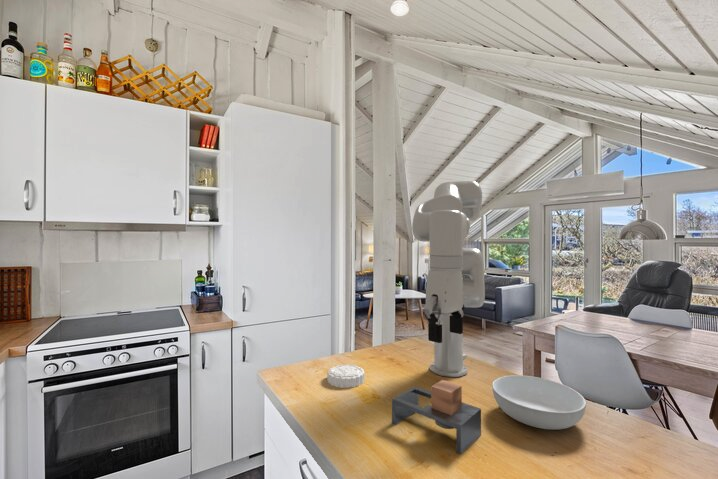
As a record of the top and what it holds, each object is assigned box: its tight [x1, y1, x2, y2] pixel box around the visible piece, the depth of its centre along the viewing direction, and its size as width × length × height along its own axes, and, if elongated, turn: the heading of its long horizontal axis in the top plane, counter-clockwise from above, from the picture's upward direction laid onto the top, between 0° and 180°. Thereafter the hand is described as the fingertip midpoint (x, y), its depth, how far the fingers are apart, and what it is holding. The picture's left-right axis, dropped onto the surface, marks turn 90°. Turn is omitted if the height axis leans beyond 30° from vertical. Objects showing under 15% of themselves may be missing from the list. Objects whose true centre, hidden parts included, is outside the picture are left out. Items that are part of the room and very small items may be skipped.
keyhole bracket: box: [391, 386, 482, 455], centre depth 81 cm, size 18×10×6 cm, turn 47°
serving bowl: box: [491, 374, 587, 430], centre depth 86 cm, size 21×21×7 cm
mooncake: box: [326, 364, 366, 389], centre depth 110 cm, size 12×12×4 cm
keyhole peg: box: [430, 379, 463, 430], centre depth 79 cm, size 5×5×8 cm
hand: (446, 337), depth 80 cm, fingers open, 9 cm apart
